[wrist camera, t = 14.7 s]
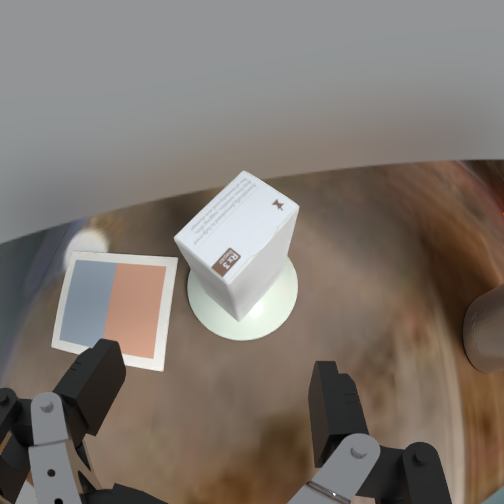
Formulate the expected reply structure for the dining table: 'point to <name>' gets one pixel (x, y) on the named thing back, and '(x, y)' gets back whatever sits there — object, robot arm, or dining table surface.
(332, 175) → the dining table surface
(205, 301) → the coaster
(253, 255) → the skincare box
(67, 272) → the blue and orange card
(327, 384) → the robot arm
